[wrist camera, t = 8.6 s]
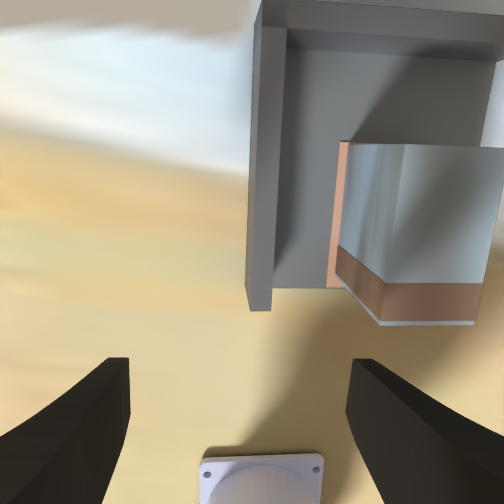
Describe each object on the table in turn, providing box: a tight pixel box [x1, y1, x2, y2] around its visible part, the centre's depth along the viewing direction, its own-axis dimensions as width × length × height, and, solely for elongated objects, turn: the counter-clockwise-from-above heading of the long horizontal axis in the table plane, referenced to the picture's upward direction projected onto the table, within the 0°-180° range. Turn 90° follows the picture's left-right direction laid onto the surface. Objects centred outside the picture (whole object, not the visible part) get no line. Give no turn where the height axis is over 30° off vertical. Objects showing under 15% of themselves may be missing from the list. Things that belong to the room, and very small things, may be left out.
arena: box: [245, 0, 504, 311], centre depth 18 cm, size 13×12×3 cm
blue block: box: [335, 144, 504, 326], centre depth 17 cm, size 4×7×6 cm, turn 178°
